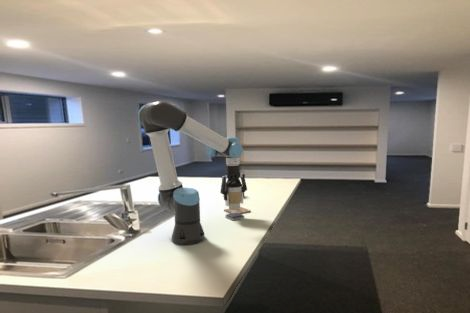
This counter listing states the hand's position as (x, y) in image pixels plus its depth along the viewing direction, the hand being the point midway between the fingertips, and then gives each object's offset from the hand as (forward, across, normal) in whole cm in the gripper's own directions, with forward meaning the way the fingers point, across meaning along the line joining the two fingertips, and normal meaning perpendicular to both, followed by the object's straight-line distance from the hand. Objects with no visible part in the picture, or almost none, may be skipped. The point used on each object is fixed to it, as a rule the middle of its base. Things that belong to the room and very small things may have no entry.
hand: (234, 204), depth 181 cm
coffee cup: (+3, 0, 0) cm, 3 cm away
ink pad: (+8, 0, 0) cm, 8 cm away
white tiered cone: (+8, +26, +53) cm, 60 cm away
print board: (+8, +8, +11) cm, 16 cm away
